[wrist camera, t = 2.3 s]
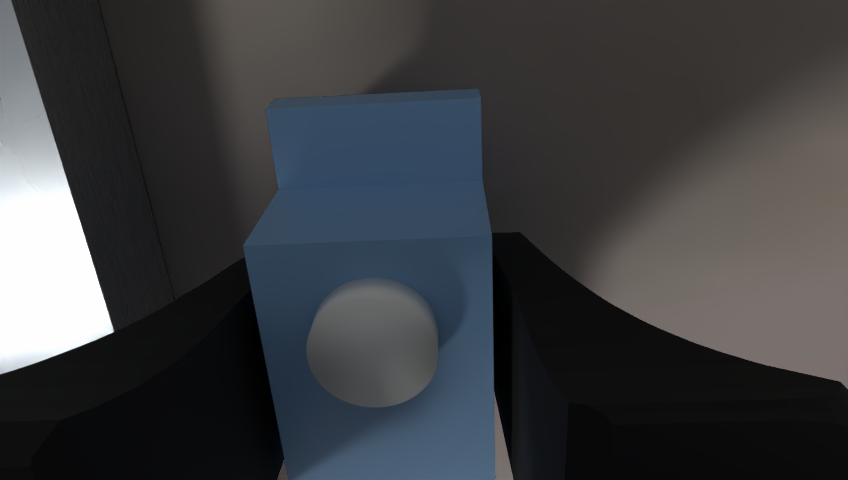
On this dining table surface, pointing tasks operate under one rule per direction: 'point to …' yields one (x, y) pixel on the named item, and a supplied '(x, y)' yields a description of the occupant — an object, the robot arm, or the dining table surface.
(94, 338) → the plate
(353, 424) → the block
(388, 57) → the dining table surface
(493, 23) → the dining table surface
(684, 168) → the dining table surface
